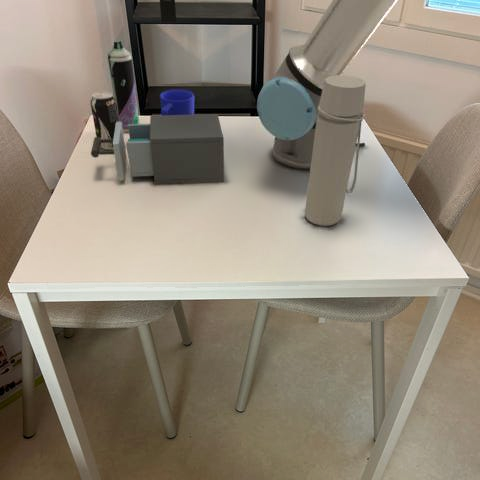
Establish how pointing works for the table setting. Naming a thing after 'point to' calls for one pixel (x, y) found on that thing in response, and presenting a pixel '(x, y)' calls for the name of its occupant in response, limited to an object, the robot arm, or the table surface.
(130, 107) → the spray can
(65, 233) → the table surface
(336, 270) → the table surface
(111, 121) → the beverage can
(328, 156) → the water bottle
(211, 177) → the grey drawer cabinet
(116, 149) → the drawer
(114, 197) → the table surface
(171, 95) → the mug
